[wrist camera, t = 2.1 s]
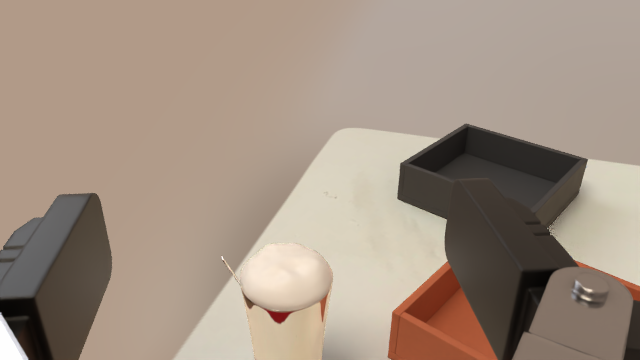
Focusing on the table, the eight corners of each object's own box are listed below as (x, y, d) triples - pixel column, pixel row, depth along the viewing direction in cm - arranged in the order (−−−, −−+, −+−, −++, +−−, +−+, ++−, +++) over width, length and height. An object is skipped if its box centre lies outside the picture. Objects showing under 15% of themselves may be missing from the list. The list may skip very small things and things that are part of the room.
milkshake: (225, 374, 32) (211, 231, 27) (312, 349, 33) (313, 210, 29) (246, 440, 28) (233, 287, 23) (342, 408, 30) (349, 260, 25)
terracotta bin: (387, 357, 33) (392, 311, 31) (478, 265, 41) (486, 224, 39) (595, 484, 26) (615, 435, 24) (655, 344, 34) (674, 299, 32)
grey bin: (396, 198, 49) (400, 163, 48) (461, 155, 57) (465, 123, 56) (526, 251, 43) (535, 212, 41) (578, 193, 51) (588, 159, 49)
